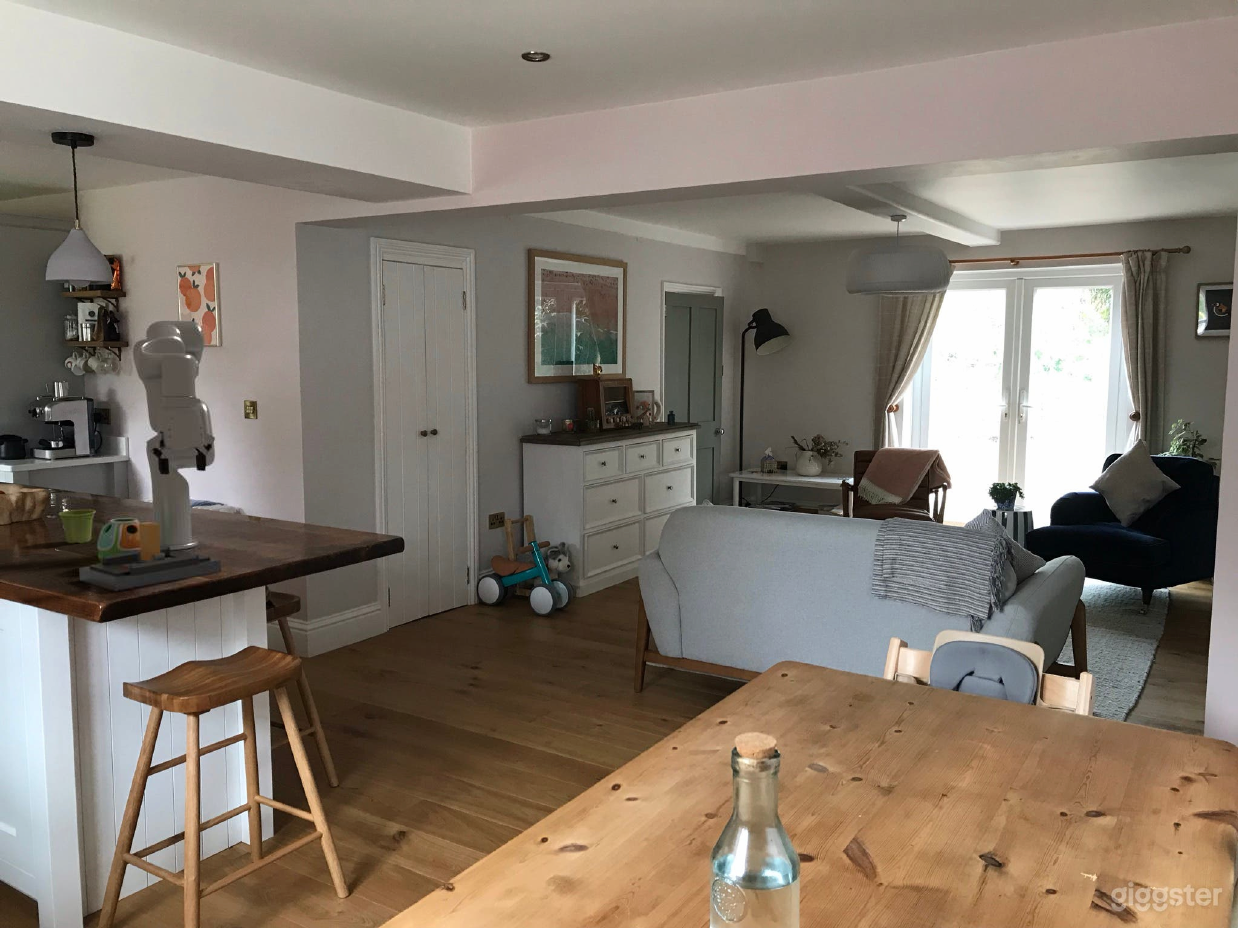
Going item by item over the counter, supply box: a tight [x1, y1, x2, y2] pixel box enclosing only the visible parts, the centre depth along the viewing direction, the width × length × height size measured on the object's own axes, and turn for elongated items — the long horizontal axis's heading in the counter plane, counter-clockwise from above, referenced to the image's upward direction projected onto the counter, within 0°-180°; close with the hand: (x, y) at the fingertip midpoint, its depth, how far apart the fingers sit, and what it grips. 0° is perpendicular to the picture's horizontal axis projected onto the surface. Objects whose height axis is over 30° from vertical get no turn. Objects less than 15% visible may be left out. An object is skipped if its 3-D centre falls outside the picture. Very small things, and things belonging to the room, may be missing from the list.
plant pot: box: [58, 509, 96, 544], centre depth 285 cm, size 9×9×9 cm
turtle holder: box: [96, 517, 141, 564], centre depth 255 cm, size 12×18×12 cm
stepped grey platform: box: [102, 546, 200, 576], centre depth 241 cm, size 20×18×2 cm
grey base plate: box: [78, 550, 222, 592], centre depth 241 cm, size 18×26×6 cm
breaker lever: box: [139, 521, 160, 562], centre depth 241 cm, size 6×2×9 cm, turn 52°
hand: (183, 472), depth 246 cm, fingers open, 9 cm apart
